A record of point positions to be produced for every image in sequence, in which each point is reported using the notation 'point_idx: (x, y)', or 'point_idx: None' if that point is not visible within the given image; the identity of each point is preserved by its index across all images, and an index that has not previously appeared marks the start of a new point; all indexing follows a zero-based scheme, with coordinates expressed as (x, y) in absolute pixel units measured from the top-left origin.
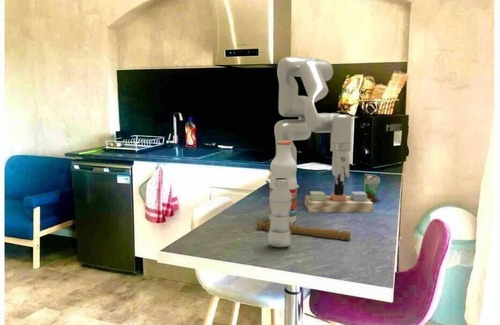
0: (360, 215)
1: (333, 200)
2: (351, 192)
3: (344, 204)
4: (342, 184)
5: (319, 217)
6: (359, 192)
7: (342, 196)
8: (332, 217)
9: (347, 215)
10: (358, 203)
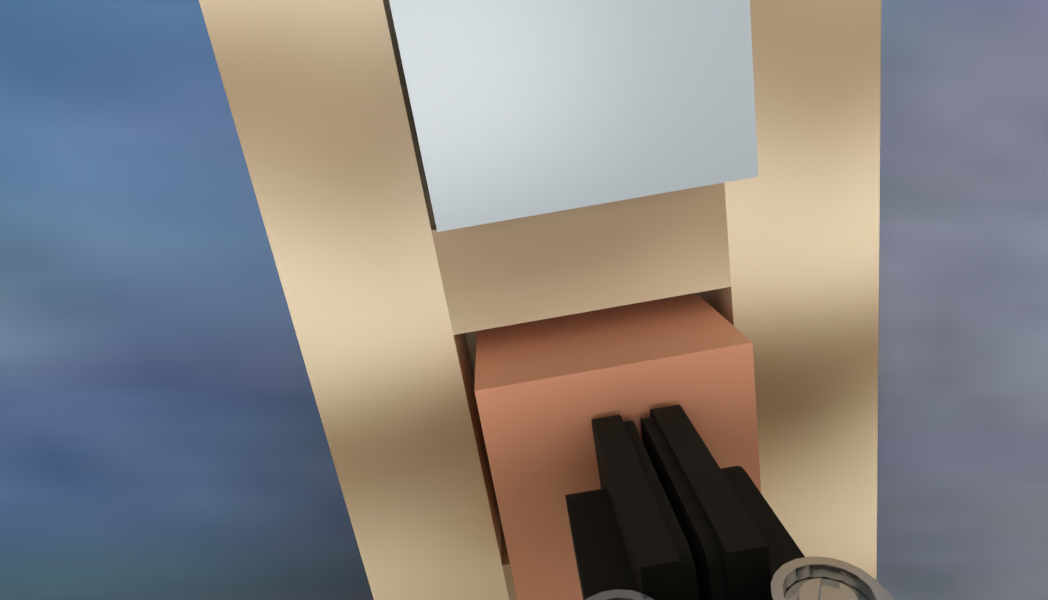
0: (955, 65)
1: None
2: (480, 221)
3: (862, 329)
4: (860, 596)
5: (1028, 562)
6: (506, 10)
7: (748, 406)
8: (1036, 433)
9: (952, 253)
10: (876, 82)
